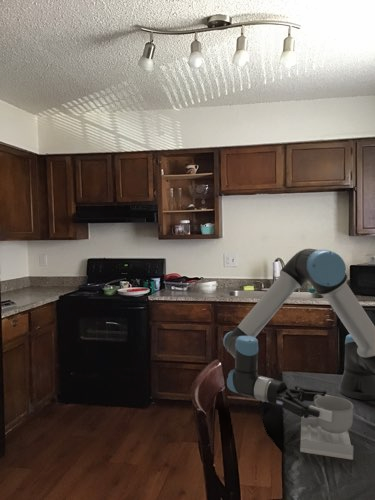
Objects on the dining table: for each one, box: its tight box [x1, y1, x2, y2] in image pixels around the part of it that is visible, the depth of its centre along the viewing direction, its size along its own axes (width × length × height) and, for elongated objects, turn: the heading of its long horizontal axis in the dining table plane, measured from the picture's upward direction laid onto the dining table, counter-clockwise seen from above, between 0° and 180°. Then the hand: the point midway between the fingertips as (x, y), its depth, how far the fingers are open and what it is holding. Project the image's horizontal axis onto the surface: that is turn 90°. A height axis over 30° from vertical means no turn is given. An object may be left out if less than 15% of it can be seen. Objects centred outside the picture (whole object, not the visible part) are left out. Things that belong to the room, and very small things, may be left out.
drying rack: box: [299, 415, 354, 460], centre depth 127 cm, size 16×14×4 cm
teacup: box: [313, 394, 354, 434], centre depth 126 cm, size 14×11×8 cm
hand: (339, 410), depth 124 cm, fingers closed on teacup, 11 cm apart
